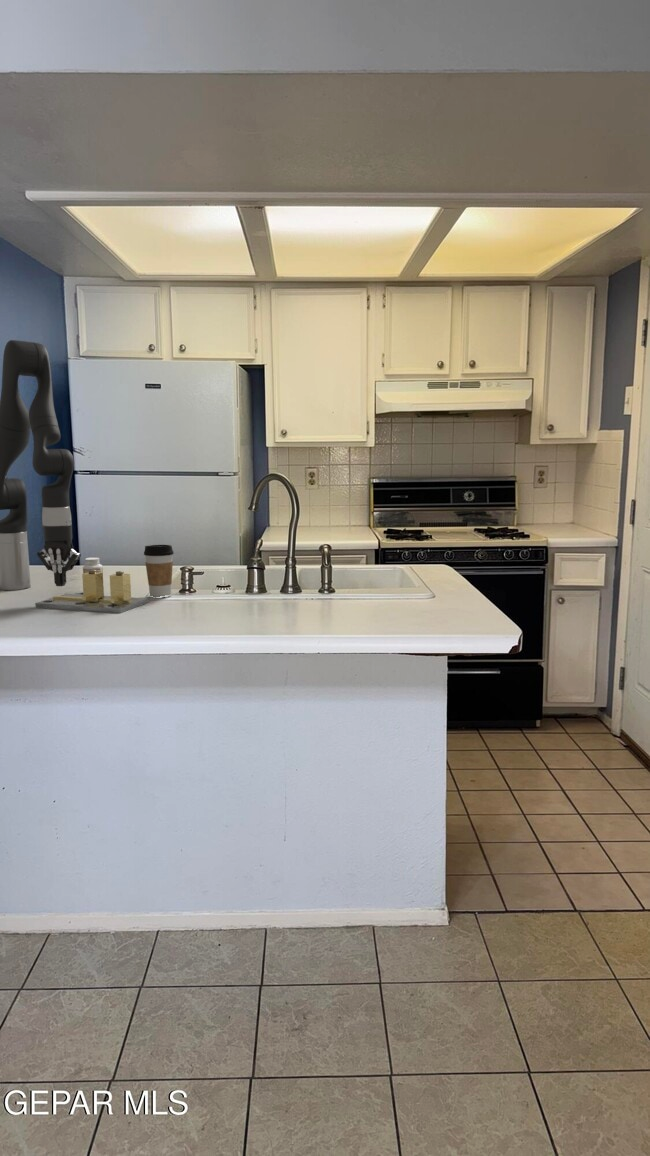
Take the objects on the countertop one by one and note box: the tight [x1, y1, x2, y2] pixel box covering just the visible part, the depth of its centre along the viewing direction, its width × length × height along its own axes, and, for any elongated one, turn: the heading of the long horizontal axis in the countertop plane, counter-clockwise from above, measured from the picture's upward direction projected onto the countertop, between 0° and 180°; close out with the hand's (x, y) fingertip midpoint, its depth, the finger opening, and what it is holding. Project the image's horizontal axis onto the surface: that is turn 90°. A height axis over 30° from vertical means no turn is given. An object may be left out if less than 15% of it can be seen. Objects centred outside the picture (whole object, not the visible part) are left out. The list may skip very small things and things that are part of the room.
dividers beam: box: [52, 570, 133, 605], centre depth 208 cm, size 24×6×8 cm, turn 73°
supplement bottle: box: [82, 557, 104, 587], centre depth 227 cm, size 6×6×10 cm
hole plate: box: [34, 593, 149, 614], centre depth 210 cm, size 26×14×1 cm, turn 73°
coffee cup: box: [143, 544, 175, 597], centre depth 221 cm, size 8×8×15 cm
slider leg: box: [81, 570, 105, 602], centre depth 208 cm, size 4×6×8 cm, turn 163°
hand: (60, 585), depth 213 cm, fingers closed
